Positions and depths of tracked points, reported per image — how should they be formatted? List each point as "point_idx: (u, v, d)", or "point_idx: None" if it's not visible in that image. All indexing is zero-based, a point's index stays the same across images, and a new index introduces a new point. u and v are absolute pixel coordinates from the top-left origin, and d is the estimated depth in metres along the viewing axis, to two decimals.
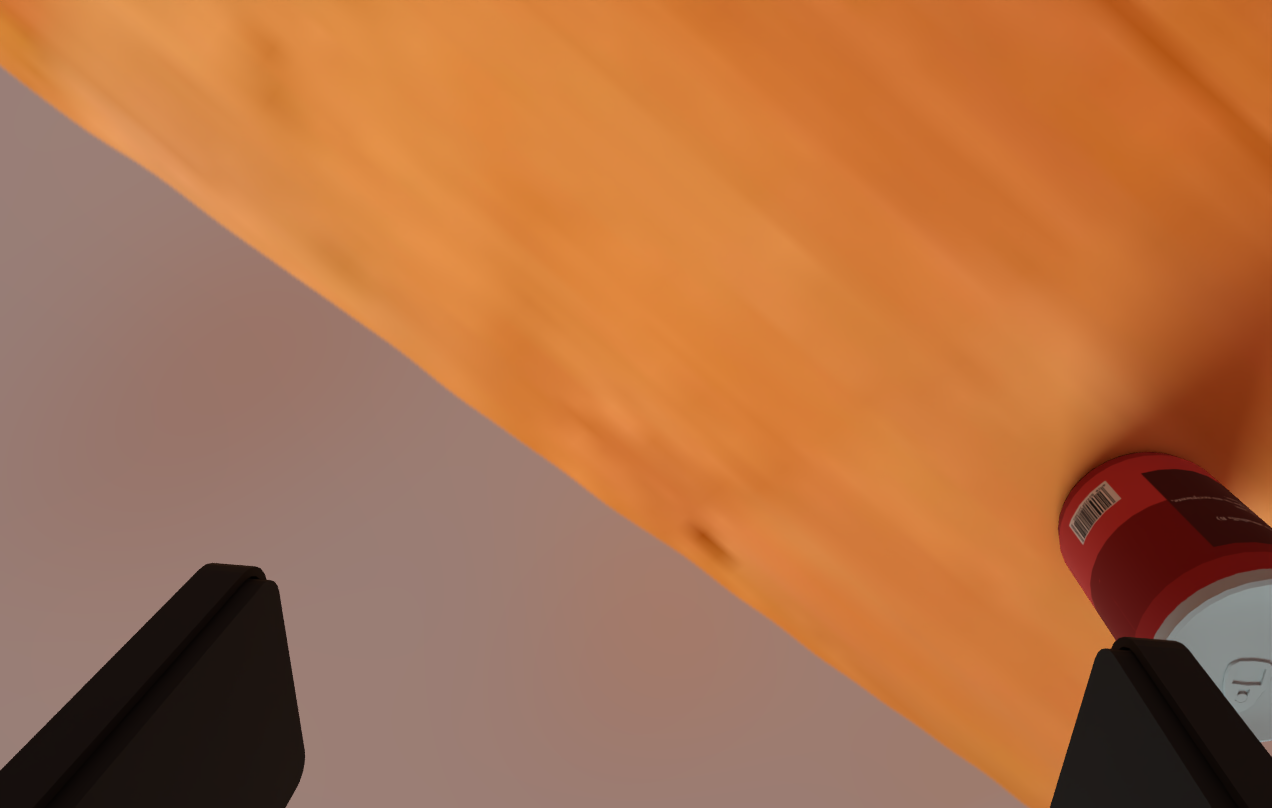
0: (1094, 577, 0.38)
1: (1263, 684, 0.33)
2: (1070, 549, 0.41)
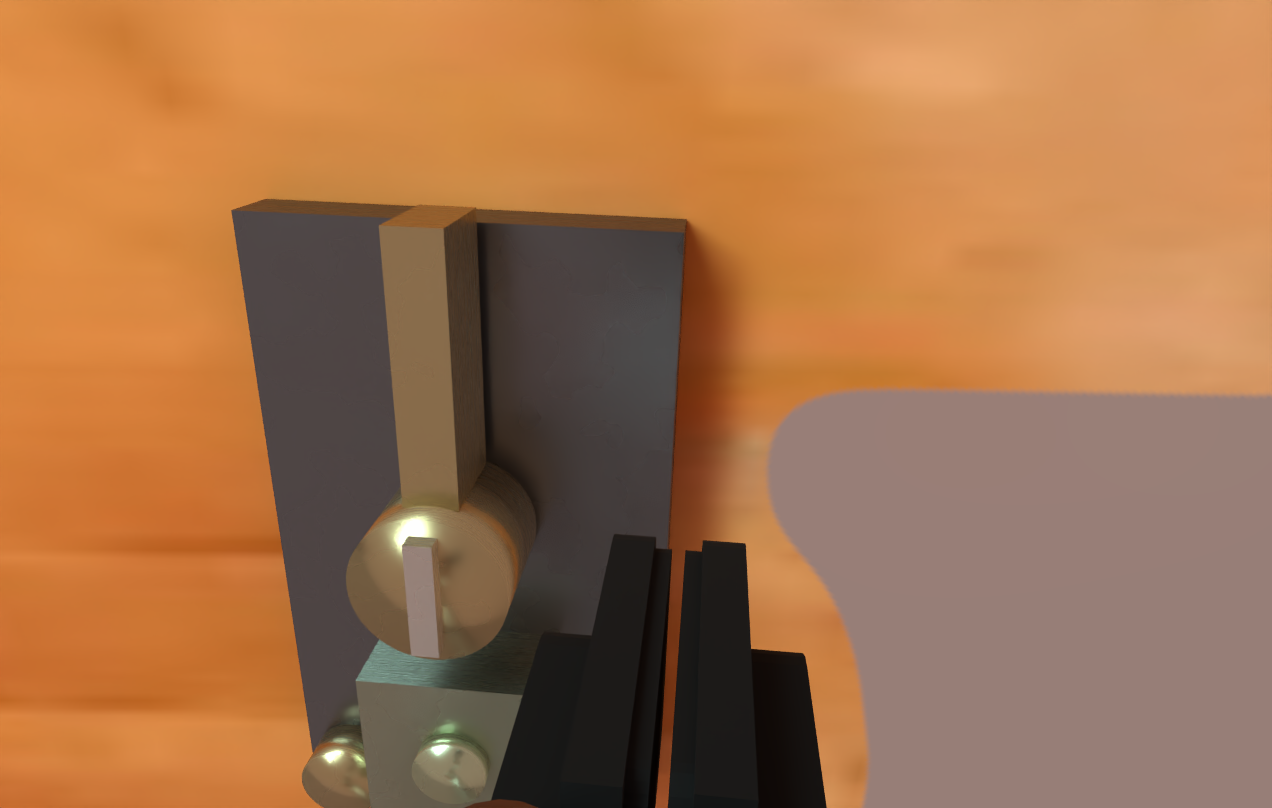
0: None
1: None
2: None
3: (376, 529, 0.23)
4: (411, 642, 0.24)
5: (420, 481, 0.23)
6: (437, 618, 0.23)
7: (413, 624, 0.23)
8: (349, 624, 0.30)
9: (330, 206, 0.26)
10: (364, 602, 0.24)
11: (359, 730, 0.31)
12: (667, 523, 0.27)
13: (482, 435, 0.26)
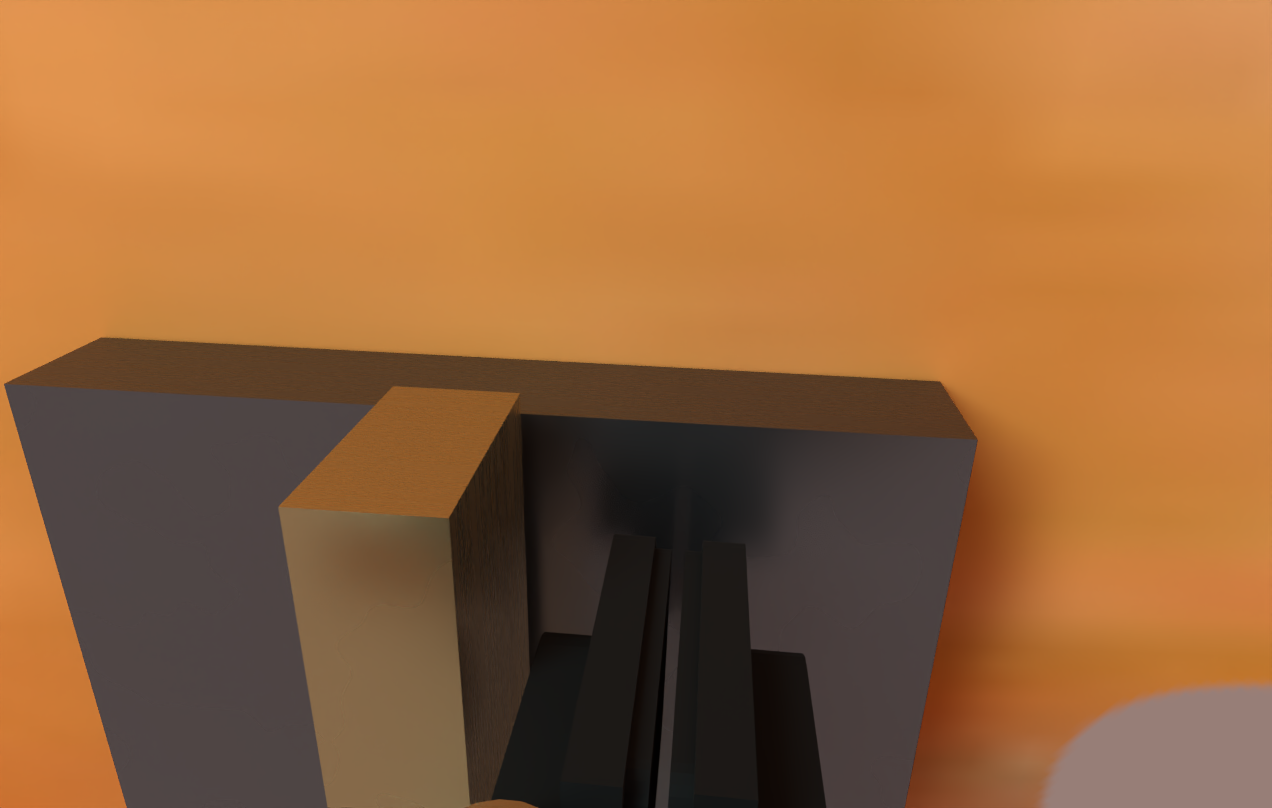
0: None
1: None
2: None
3: None
4: None
5: None
6: None
7: None
8: None
9: (220, 360, 0.13)
10: None
11: None
12: None
13: None
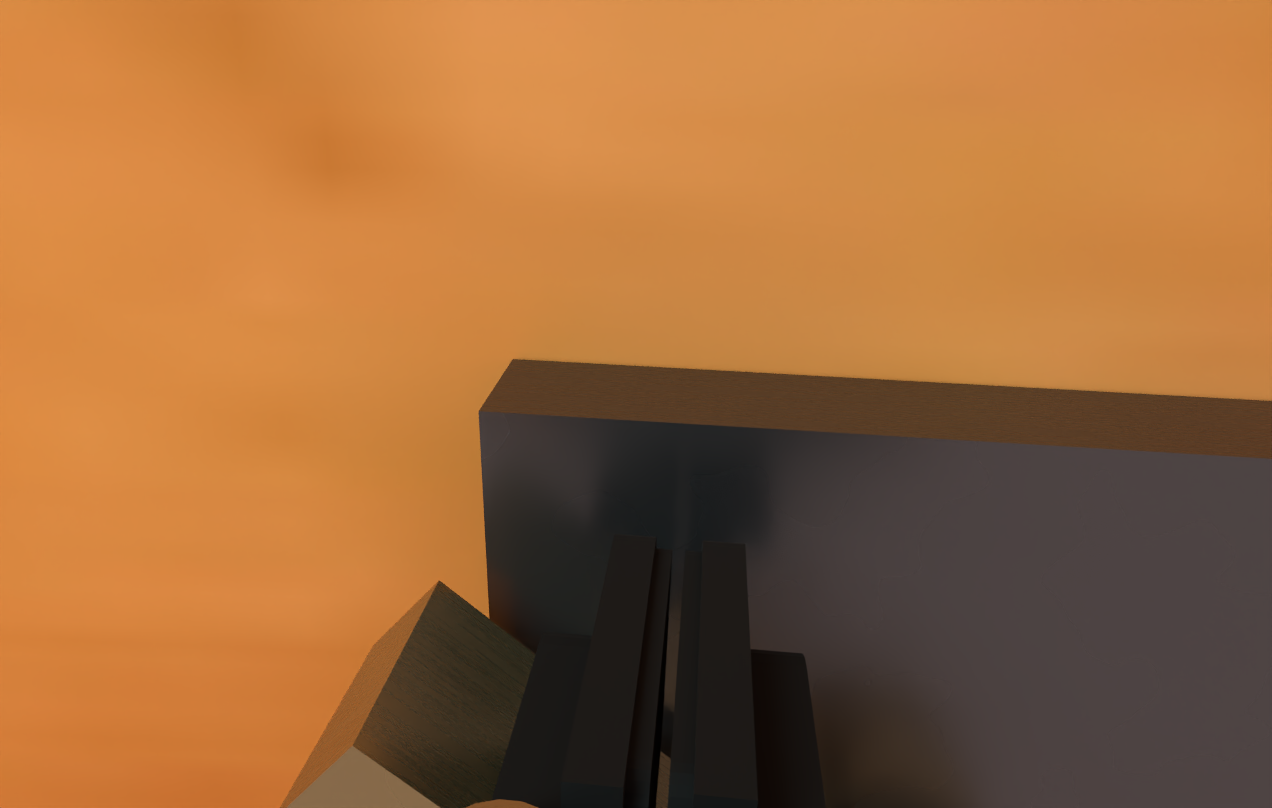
0: None
1: None
2: None
3: None
4: None
5: None
6: None
7: None
8: None
9: (663, 384, 0.12)
10: None
11: None
12: None
13: None
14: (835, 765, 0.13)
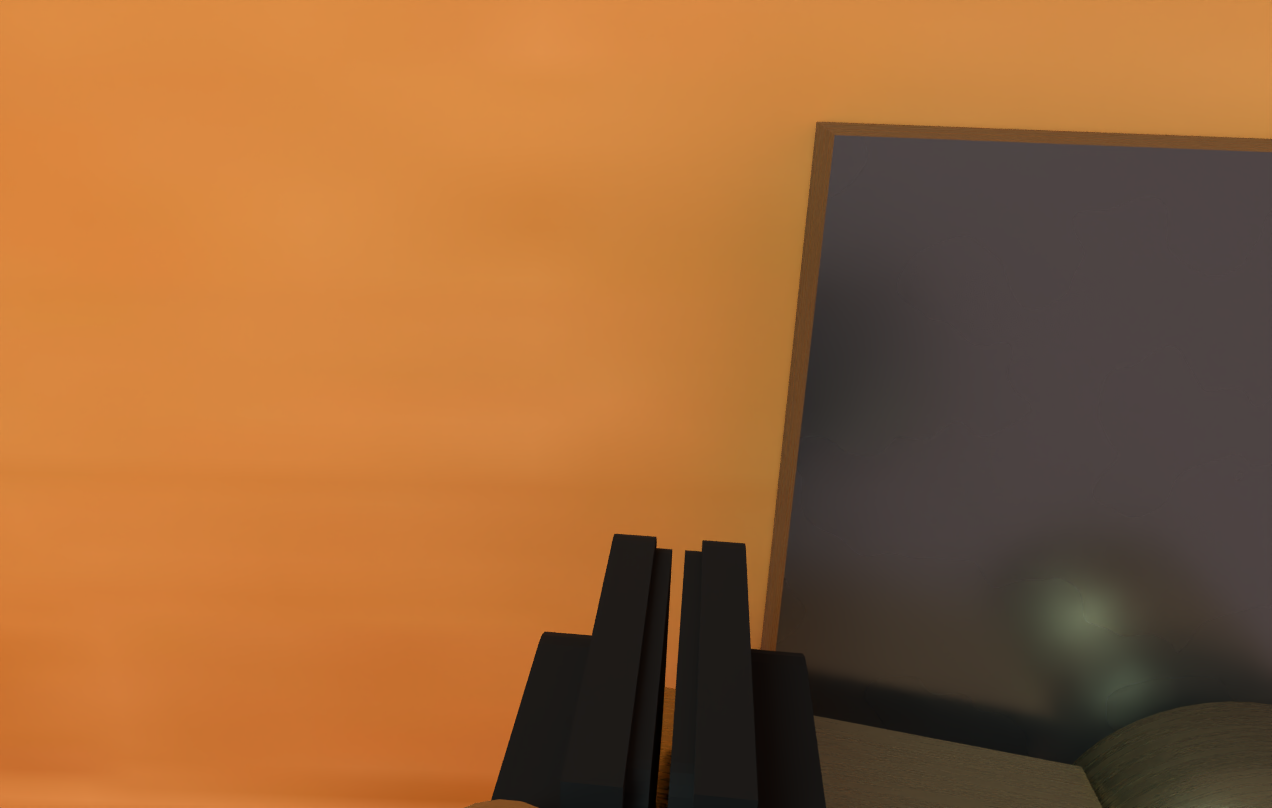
0: None
1: None
2: None
3: None
4: None
5: None
6: None
7: None
8: None
9: (1010, 133, 0.11)
10: None
11: None
12: None
13: (1013, 768, 0.12)
14: (1181, 581, 0.11)
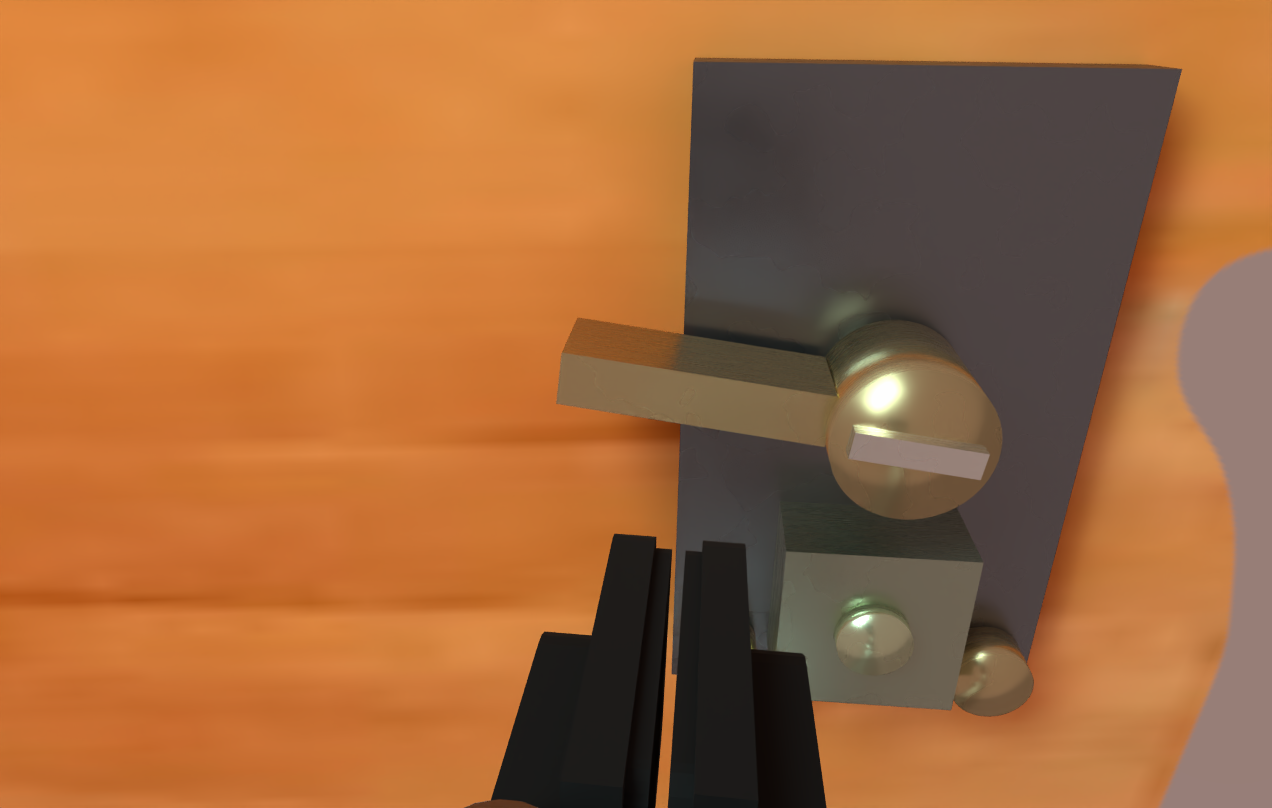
0: None
1: None
2: None
3: (834, 476, 0.24)
4: (964, 476, 0.23)
5: (799, 424, 0.24)
6: (941, 445, 0.23)
7: (942, 469, 0.23)
8: (736, 505, 0.30)
9: (775, 60, 0.25)
10: (914, 507, 0.24)
11: None
12: (1097, 387, 0.27)
13: (791, 355, 0.26)
14: (861, 263, 0.26)
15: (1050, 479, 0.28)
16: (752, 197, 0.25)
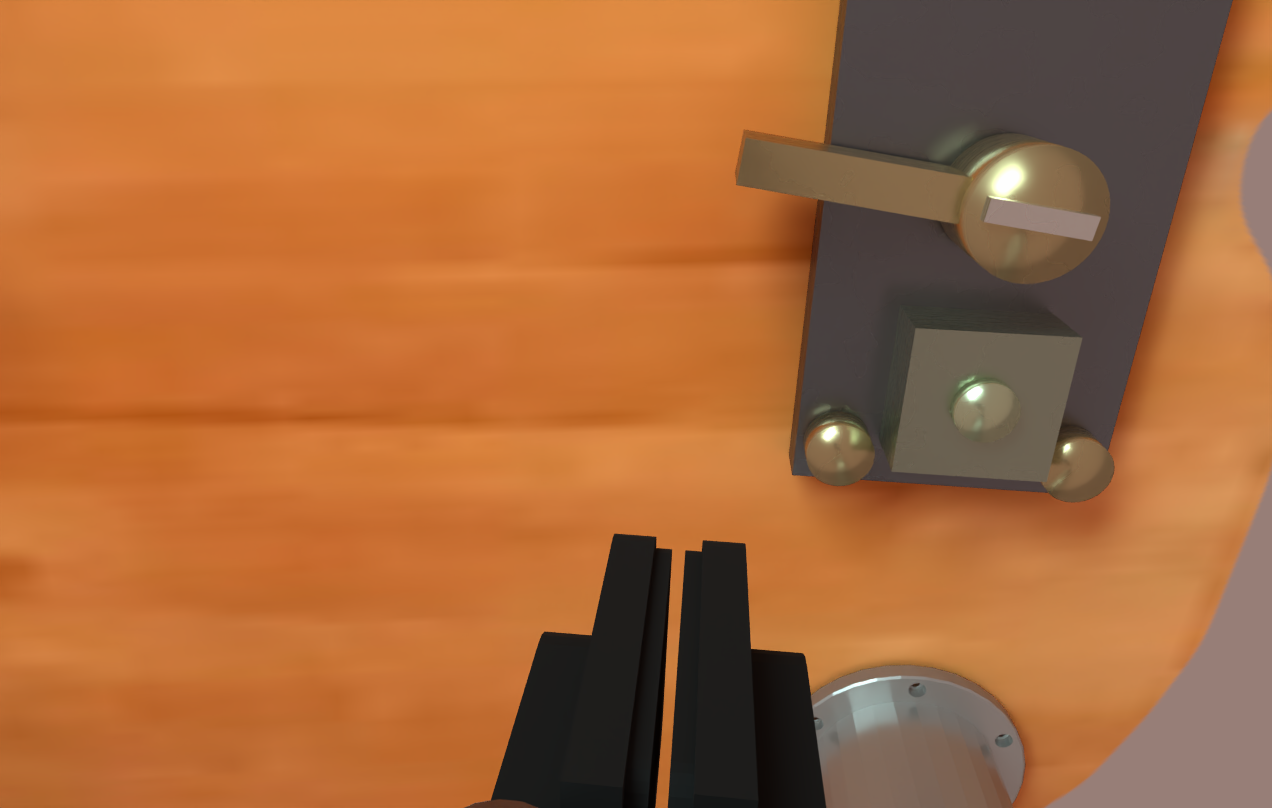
0: None
1: None
2: None
3: (968, 244, 0.29)
4: (1078, 237, 0.28)
5: (939, 203, 0.29)
6: (1061, 209, 0.28)
7: (1060, 231, 0.28)
8: (862, 309, 0.35)
9: None
10: (1033, 272, 0.29)
11: (848, 414, 0.36)
12: (1177, 197, 0.32)
13: (923, 162, 0.31)
14: (984, 83, 0.31)
15: (1133, 283, 0.33)
16: (897, 24, 0.30)
